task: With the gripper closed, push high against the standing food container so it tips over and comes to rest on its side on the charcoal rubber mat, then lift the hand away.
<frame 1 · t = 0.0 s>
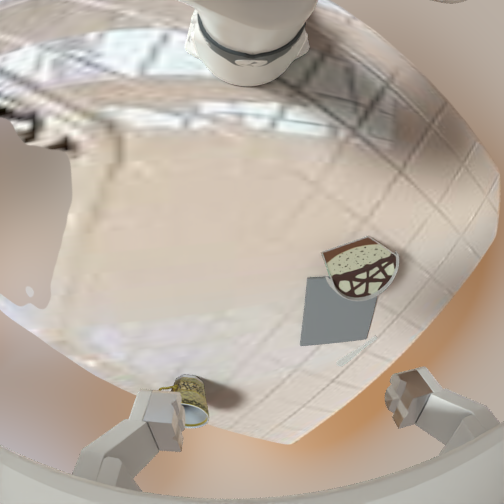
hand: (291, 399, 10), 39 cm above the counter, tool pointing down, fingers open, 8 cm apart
mat: (339, 311, 56), on the counter
food container: (347, 258, 51), on the counter
ceramic cup: (185, 379, 62), on the counter
butter knife: (377, 333, 60), on the counter
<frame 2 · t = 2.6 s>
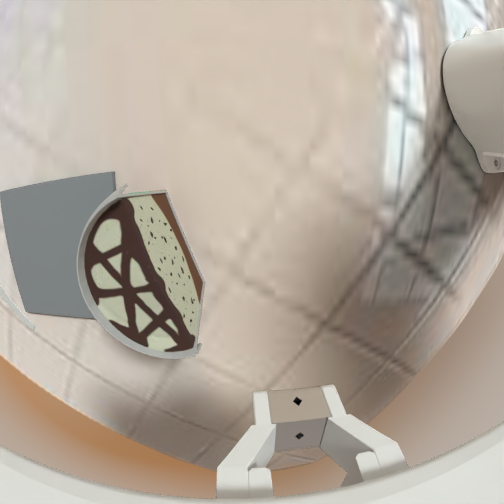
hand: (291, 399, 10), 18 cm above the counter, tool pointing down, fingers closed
mat: (59, 251, 26), on the counter
food container: (157, 248, 26), on the counter
butter knife: (39, 329, 30), on the counter
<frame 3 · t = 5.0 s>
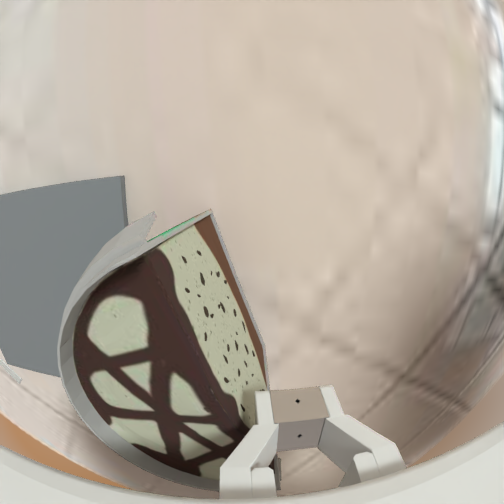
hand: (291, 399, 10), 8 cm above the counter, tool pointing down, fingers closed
mat: (42, 294, 17), on the counter
food container: (192, 297, 17), on the counter, touching gripper
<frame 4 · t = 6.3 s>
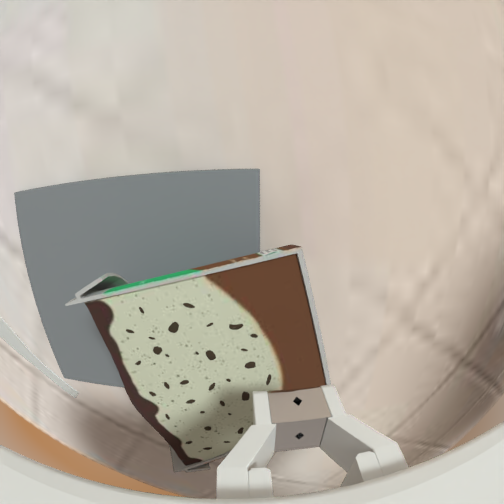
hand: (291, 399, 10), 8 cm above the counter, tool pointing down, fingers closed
mat: (131, 297, 17), on the counter
food container: (300, 314, 16), point 2 cm above the counter, touching mat
butter knife: (85, 395, 21), on the counter
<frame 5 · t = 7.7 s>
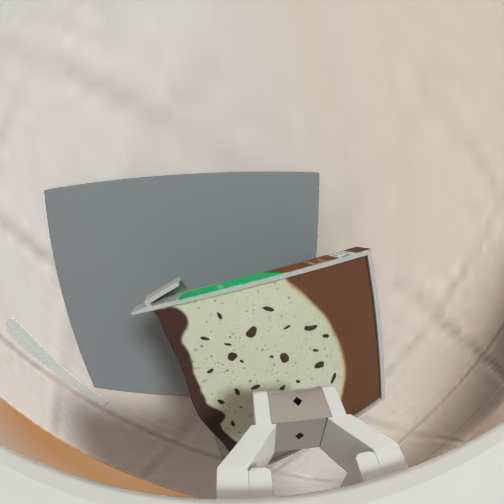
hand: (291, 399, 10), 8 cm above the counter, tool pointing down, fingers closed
mat: (178, 302, 17), on the counter
food container: (353, 314, 16), point 2 cm above the counter, touching mat
butter knife: (115, 403, 21), on the counter
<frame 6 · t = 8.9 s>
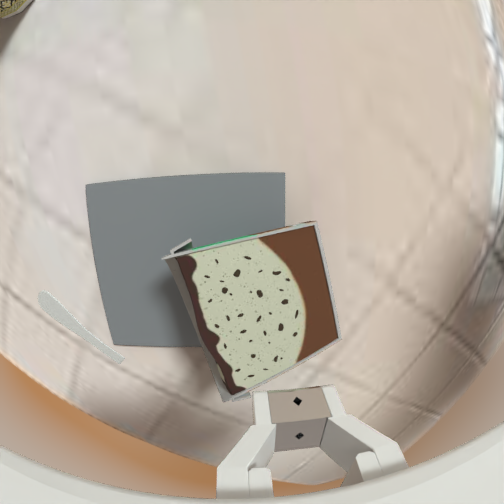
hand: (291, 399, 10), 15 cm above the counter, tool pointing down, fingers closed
mat: (185, 267, 24), on the counter
food container: (313, 274, 23), point 2 cm above the counter, touching mat
butter knife: (129, 361, 27), on the counter
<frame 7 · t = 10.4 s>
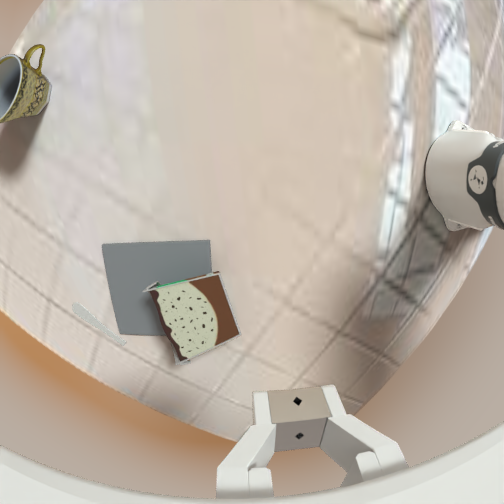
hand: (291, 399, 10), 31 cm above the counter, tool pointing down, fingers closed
mat: (159, 291, 42), on the counter
food container: (228, 297, 40), point 2 cm above the counter, touching mat
ceramic cup: (43, 89, 31), on the counter
butter knife: (129, 344, 45), on the counter
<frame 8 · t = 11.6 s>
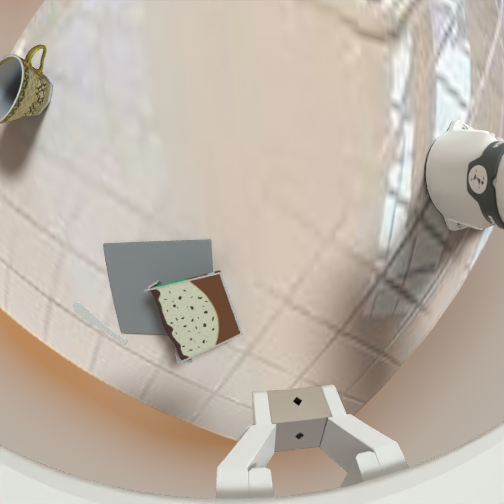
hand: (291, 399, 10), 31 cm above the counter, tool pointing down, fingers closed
mat: (160, 290, 42), on the counter
food container: (229, 296, 41), point 2 cm above the counter, touching mat
ceramic cup: (44, 89, 31), on the counter
butter knife: (131, 342, 45), on the counter
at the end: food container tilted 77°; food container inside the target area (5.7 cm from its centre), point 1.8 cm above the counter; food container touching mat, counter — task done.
